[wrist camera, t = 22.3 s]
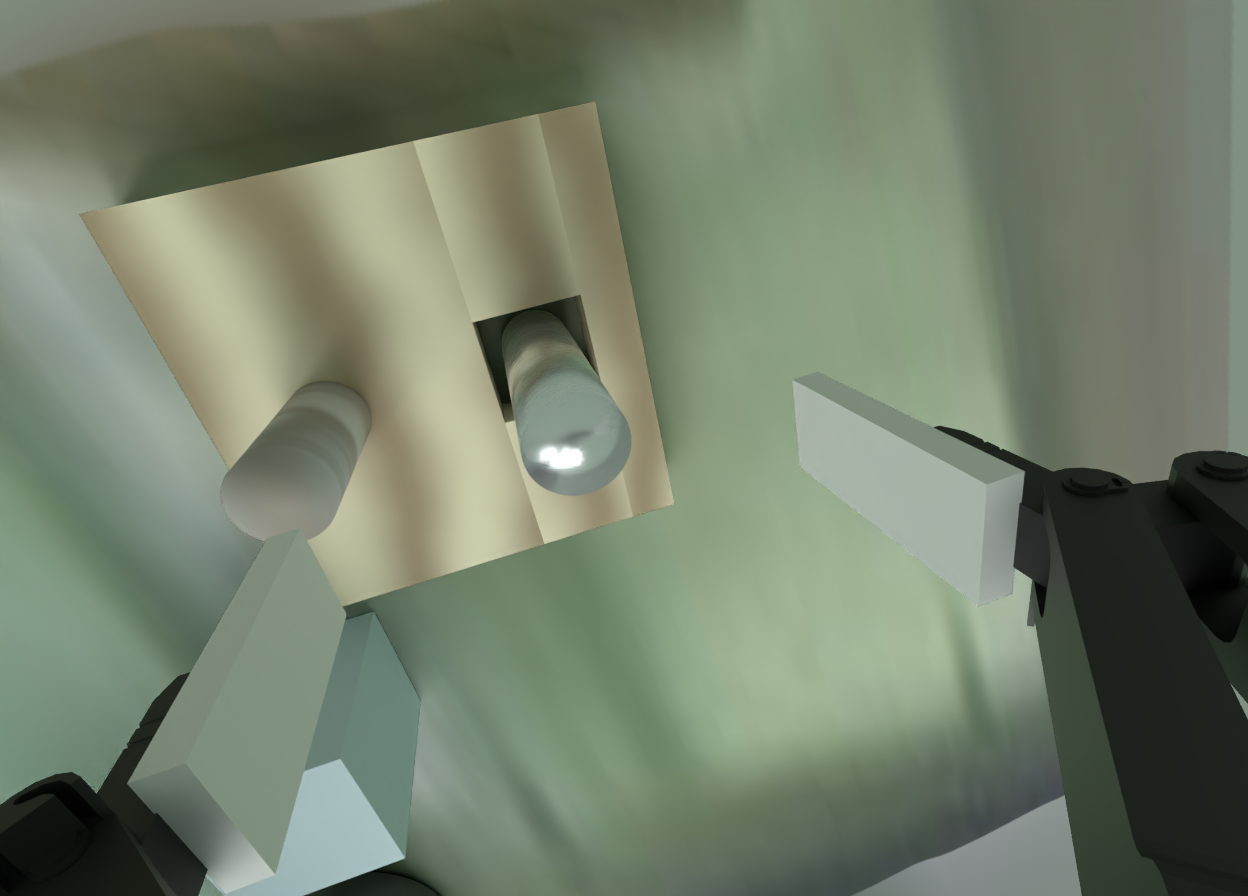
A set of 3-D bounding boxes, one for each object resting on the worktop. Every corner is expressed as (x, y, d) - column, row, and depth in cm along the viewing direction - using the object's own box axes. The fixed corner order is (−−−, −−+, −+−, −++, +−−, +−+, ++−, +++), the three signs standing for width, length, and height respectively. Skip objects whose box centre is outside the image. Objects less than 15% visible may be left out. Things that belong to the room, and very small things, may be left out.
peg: (512, 385, 28) (538, 509, 17) (492, 320, 27) (506, 411, 16) (577, 366, 28) (641, 477, 18) (560, 301, 27) (618, 379, 16)
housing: (298, 741, 33) (244, 917, 25) (237, 653, 30) (154, 822, 22) (420, 701, 34) (405, 858, 26) (373, 611, 31) (340, 758, 23)
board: (325, 583, 30) (268, 740, 21) (119, 210, 22) (-103, 228, 13) (660, 481, 32) (727, 587, 24) (583, 109, 24) (644, 68, 16)
